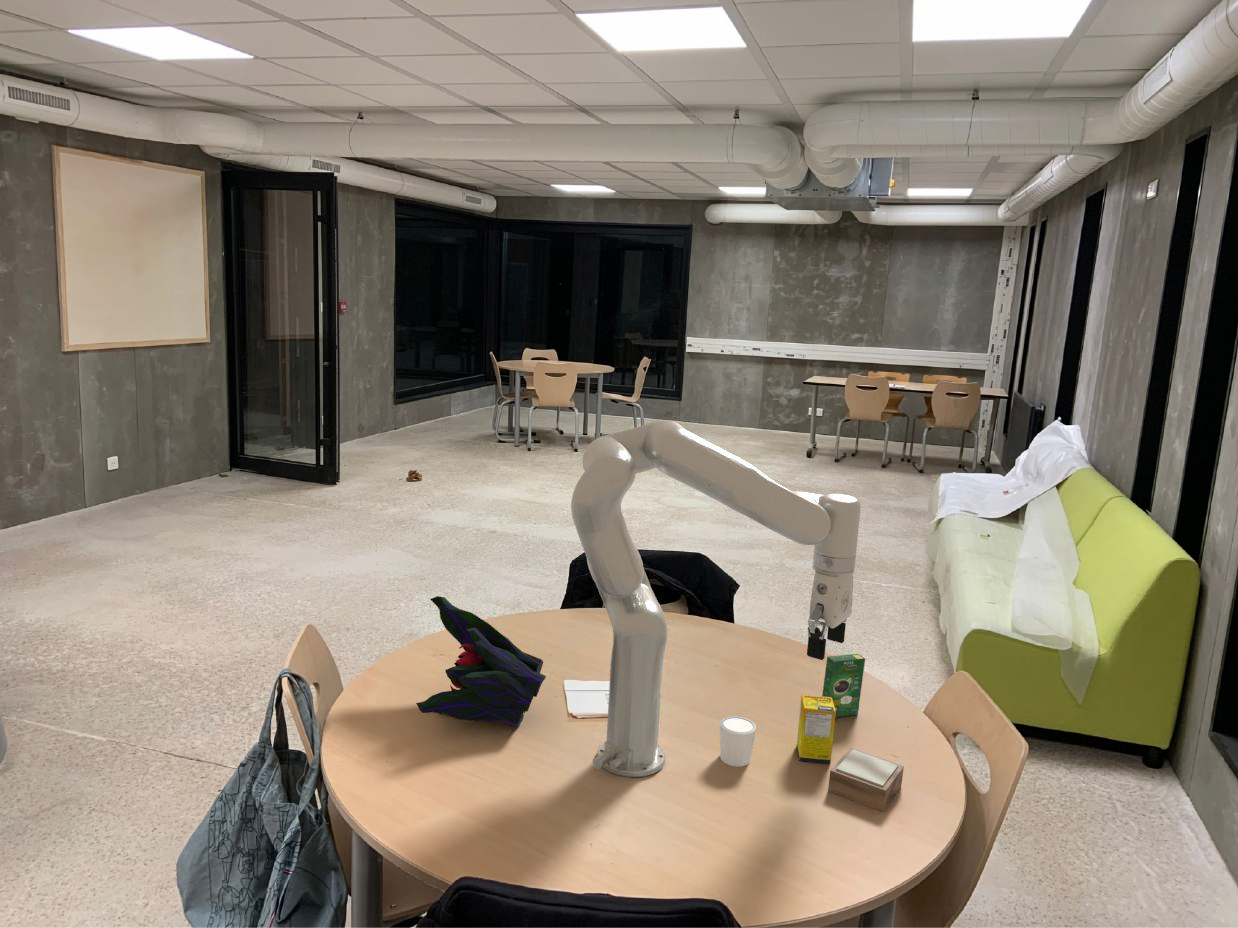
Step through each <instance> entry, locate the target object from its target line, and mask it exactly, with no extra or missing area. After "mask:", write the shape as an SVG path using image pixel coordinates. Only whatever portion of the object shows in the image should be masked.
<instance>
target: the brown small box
mask: <svg viewBox="0 0 1238 928" xmlns="http://www.w3.org/2000/svg"><path fill="white" fill-rule="evenodd" d="M904 767H905V766H904V765H902V764H898V763H895V762H892V761H890V760H886V759H884V758H881V757H879V756H878V757H877V756H875V755H872V754H870V753H867V752H863V751H860V750H858V749H856V748H852V747H850V748H848V750H847V751H846V752H845V753H844V754H843V755H842V757H840V758H839V760H838V761H837V762H836V763H835V764H834V765H833V766H832V768H831V769H830V770H829V776H828V777H829V778H828V787H827V788H828V789H827V791H828V792H830V793H833V794H836V795H839V796H841V797H843V798H847V799H849V800H852V801H854V802H857V803H859V804H861V805H864V806H867V807H870V808H873V809H875V810H878V811H881V812H884V811H886V810H885V809H886V808H887V807H888V805H889V804H890V803H891V802H892V801H893V799H894V797H895V796H896V795H897V793H898V792H899V791H900V789H901V787H902V782H903V775H904Z"/></svg>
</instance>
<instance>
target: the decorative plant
mask: <svg viewBox="0 0 1238 928" xmlns="http://www.w3.org/2000/svg"><path fill="white" fill-rule="evenodd" d="M429 600H430V601H431V602H432V603H433V604H434V605H435V606H436V607H437V609H438V611H439V616H440V617H439V618H440V620H441V622H442V624H443V626H444V629H445V630H446V631H447V632H448V633H449V634H450V635H451V636H452V637H453V638H454V640H456V641H457V642H458V643H459V644H460V647H458V649H459V650H460V649H463V651H462V652H461V653H460V654H459V655H457V658H458V659H456V660H455V662H454V663H453V664H454V665H455V666H451V667H450V668H447V669H445V670H444V671H445V674H446V676H447V678H448V679H449V680H450V682H451V684H452V685H453V686H454V687H453V686H452V685H451V684H449V686H450V690H446V691H440V692H438V693H436V694H433V695H431V696H429V697H428V698H427V699H425V700H423V701H420V702H416V703H415V705H416V707H418V709H419V711H420V712H421V714H426V713H427V714H431V713H432V714H433V713H434V714H438V715H446V716H449V717H452V718H453V719H454V718H455V719H457V720H465V721H471V722H489V723H492V722H504V723H507V724H509V725H512V726H515V727H518V728H519V727H520V726H521V724H522V721H523V720H524V716H525V714H524V713H527V712H528V711H529V709H530V706H531V703H532V701H533V699H534V697H535V698H537V696H538V694H539V692H540V689H541V687H542V684H543V682H544V681H545V679H546V675H545V674H543V673H541V671H542V668H543V665H544V660H543V659H541V658H539V657H538V656H537V657H536V656H534V655H532V654H530V653H529V654H528V653H526V652H524V651H522V650H521V649H520V648H519V647H517V646H516V645H515V643H513V642H512V641H511V640H510V639H509V638H507V636H505V635H504V634H502V633H501V632H500V631H498V630H497V629H496V628H495V627H493V625H491V624H490V623H488V622H487V621H485V620H484V619H483V618H481V617H479V616H477V615H476V614H474V613H473V612H471V611H468V610H467V611H466V610H464V609H461V608H458V607H457V606H455V605H453V604H452V603H451V602H450V601H449V600H448V599H447V598H446V597H445V596H439V595H438V596H434V597H432V598H430V599H429Z"/></svg>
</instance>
